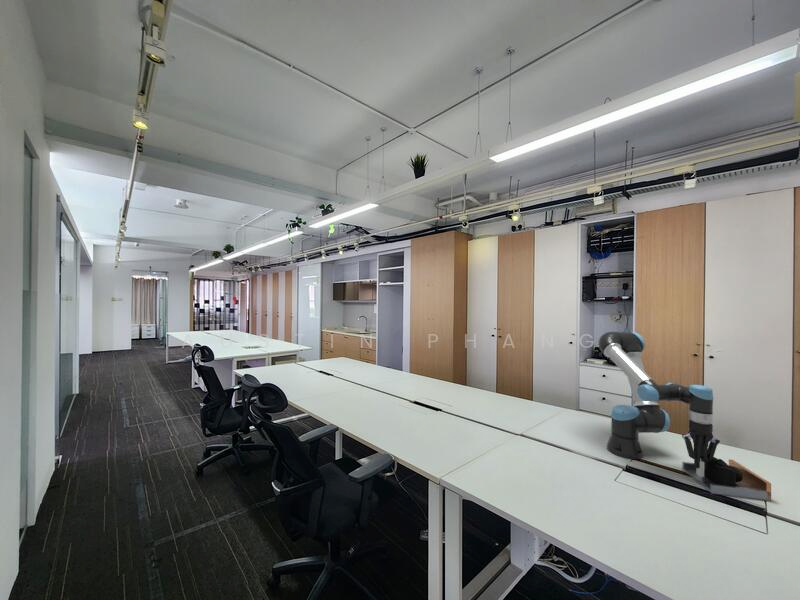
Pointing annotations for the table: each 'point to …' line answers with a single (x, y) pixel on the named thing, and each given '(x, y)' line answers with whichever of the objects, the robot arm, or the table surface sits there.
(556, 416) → the table surface
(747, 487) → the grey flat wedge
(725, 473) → the camera
